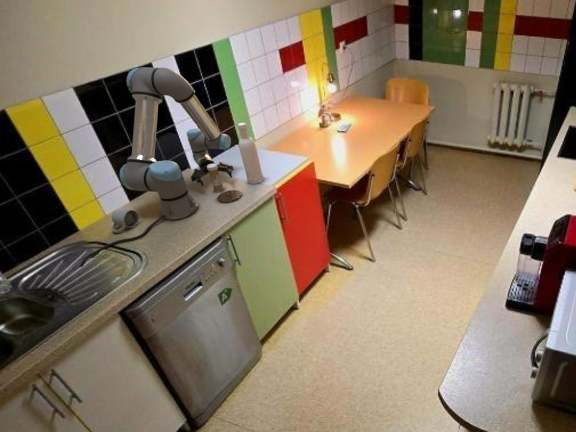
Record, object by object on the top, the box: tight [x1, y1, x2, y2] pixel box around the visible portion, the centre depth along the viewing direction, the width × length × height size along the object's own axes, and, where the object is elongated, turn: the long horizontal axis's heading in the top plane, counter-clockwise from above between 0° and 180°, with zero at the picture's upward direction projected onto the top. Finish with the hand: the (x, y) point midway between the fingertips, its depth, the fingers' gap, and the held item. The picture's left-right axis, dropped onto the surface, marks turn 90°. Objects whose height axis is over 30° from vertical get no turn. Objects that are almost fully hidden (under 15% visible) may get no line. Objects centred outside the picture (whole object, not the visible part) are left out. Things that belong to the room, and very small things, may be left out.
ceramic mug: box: [111, 208, 140, 234], centre depth 179 cm, size 11×8×8 cm
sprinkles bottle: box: [207, 163, 225, 193], centre depth 202 cm, size 5×5×14 cm
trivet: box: [217, 189, 243, 204], centre depth 199 cm, size 11×11×1 cm
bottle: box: [237, 122, 264, 185], centre depth 204 cm, size 8×8×30 cm
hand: (216, 179), depth 200 cm, fingers open, 13 cm apart
